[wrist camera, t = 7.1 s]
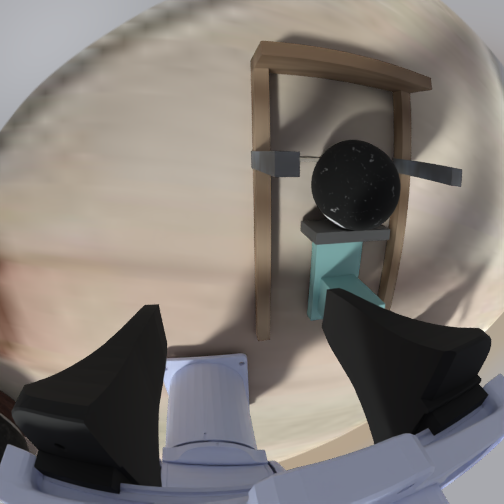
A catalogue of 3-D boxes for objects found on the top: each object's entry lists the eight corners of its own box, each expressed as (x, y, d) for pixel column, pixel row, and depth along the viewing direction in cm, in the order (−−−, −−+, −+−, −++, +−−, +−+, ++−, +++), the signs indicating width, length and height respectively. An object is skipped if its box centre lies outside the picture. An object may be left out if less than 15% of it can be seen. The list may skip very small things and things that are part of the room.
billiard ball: (381, 168, 20) (430, 181, 15) (345, 229, 22) (385, 258, 16) (326, 124, 18) (369, 121, 13) (285, 192, 20) (315, 212, 14)
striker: (356, 306, 24) (389, 344, 19) (296, 315, 24) (319, 361, 18) (368, 218, 21) (413, 241, 16) (300, 220, 21) (334, 247, 15)
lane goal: (382, 312, 26) (420, 353, 19) (254, 332, 24) (271, 391, 17) (401, 84, 18) (458, 74, 11) (249, 60, 16) (270, 20, 10)
